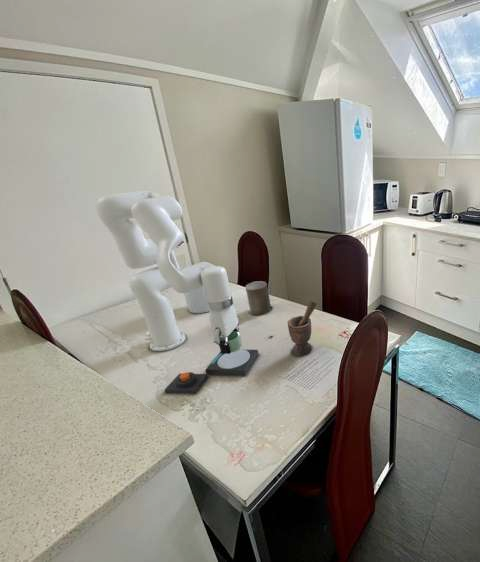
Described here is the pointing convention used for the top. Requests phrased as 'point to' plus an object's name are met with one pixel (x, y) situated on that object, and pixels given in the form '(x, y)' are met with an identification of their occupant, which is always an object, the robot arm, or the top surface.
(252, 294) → the pillar candle
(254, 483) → the top surface
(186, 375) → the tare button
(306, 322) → the mortar and pestle
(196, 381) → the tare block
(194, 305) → the utensil holder
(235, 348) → the bowl
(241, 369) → the scale
